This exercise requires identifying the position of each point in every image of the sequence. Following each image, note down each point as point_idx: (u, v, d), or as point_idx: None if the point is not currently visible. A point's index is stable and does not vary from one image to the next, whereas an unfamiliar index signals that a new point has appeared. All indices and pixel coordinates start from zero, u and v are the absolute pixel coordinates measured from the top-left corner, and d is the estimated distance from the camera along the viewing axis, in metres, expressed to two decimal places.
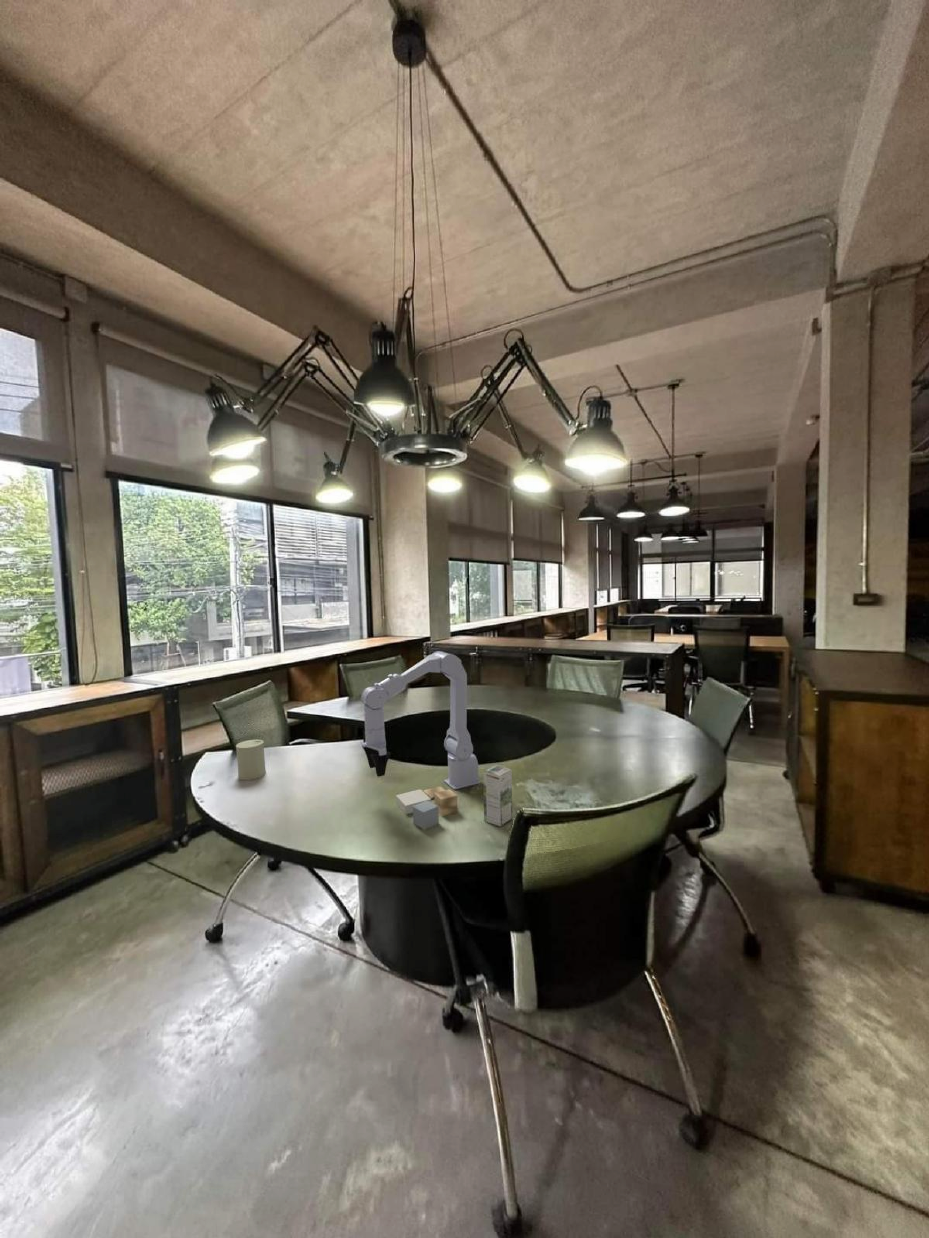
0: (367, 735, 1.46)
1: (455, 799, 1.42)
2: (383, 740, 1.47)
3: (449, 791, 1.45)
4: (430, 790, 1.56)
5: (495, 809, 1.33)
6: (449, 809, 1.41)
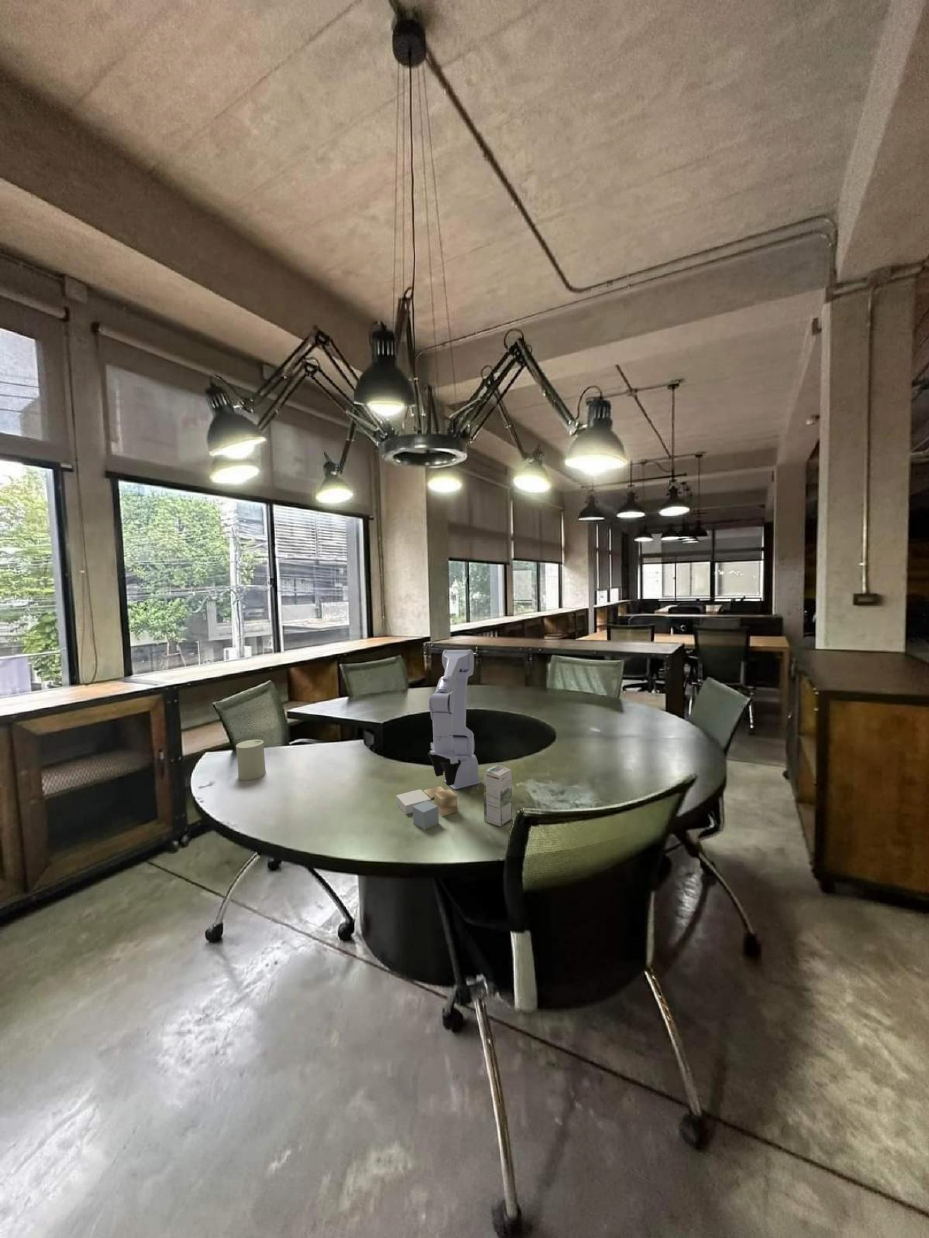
0: (436, 742, 1.40)
1: (455, 799, 1.42)
2: (452, 747, 1.41)
3: (449, 791, 1.45)
4: (430, 790, 1.56)
5: (495, 809, 1.33)
6: (449, 809, 1.41)
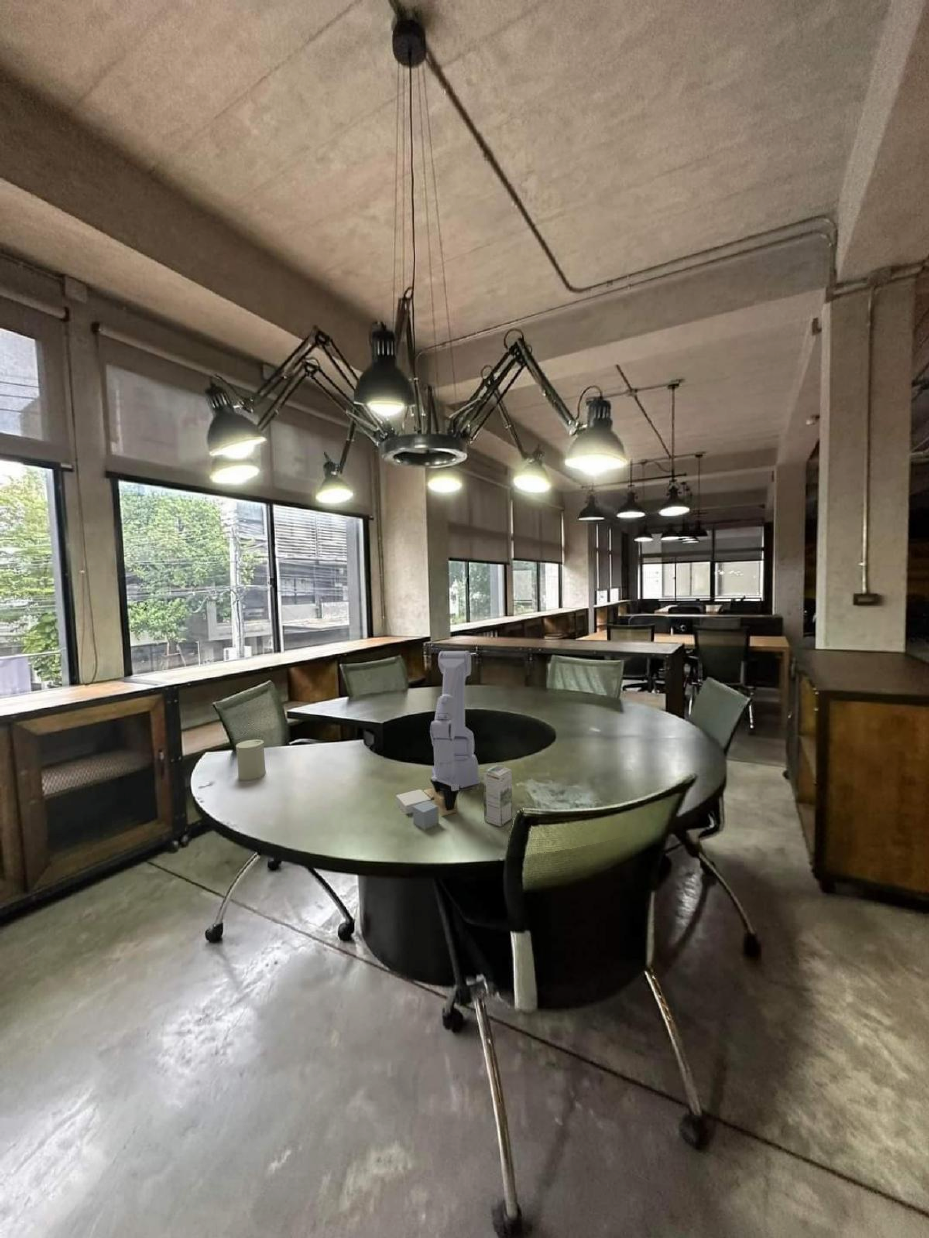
0: (437, 769, 1.40)
1: None
2: (453, 774, 1.42)
3: None
4: (430, 790, 1.56)
5: (495, 809, 1.33)
6: None
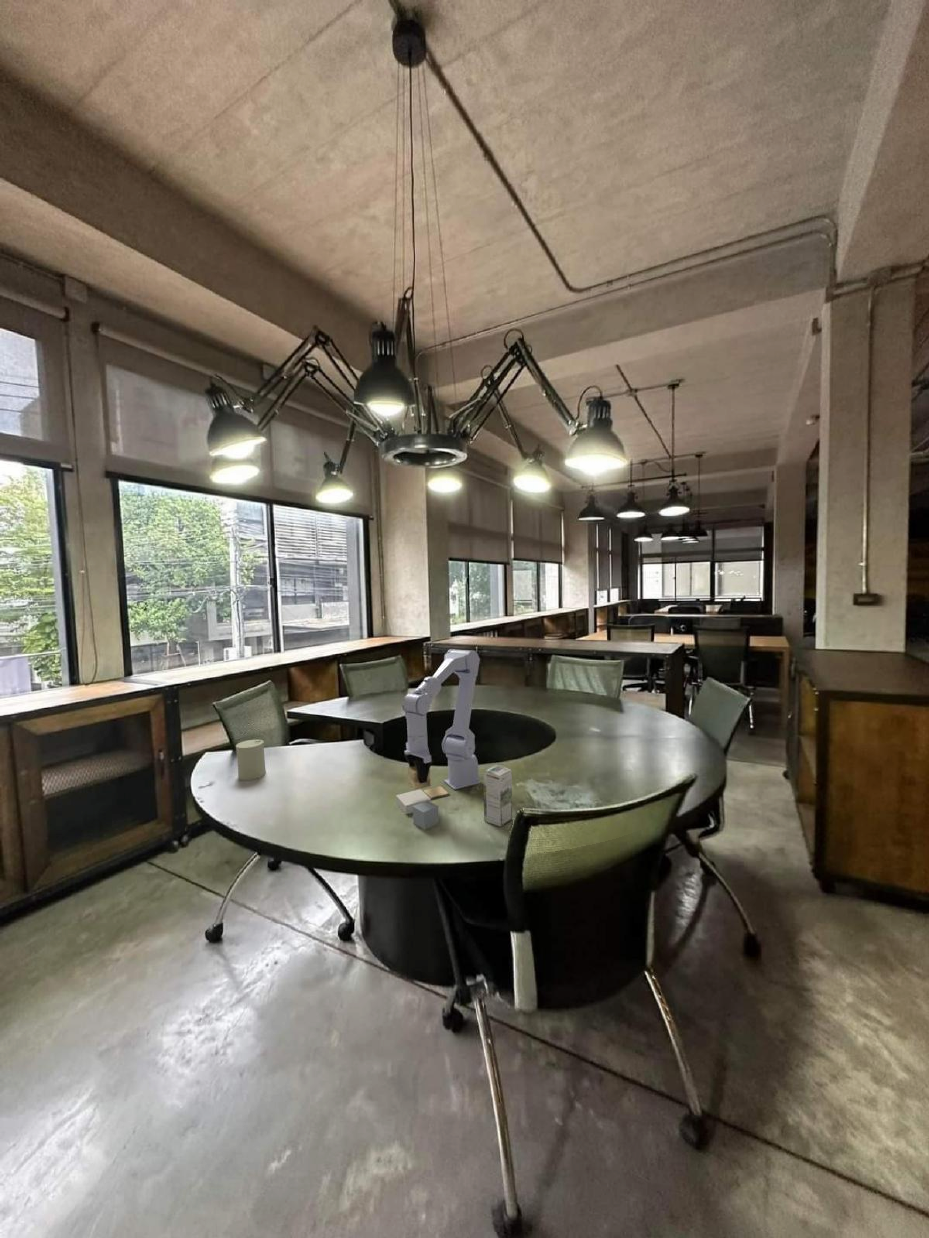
0: (410, 742, 1.43)
1: (428, 773, 1.44)
2: (426, 747, 1.44)
3: None
4: (430, 790, 1.56)
5: (495, 809, 1.33)
6: None
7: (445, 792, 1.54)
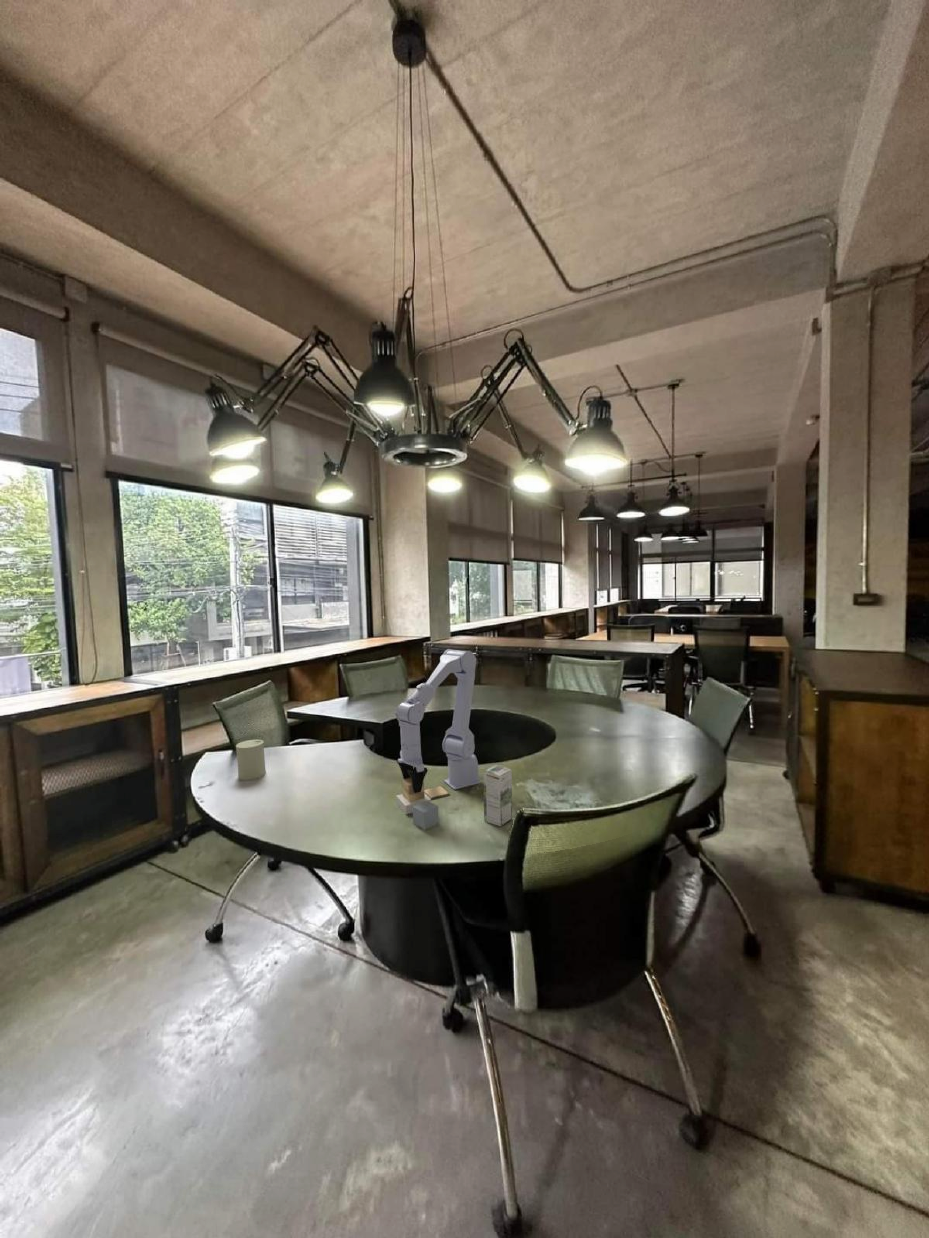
0: (403, 751, 1.44)
1: (422, 785, 1.46)
2: (419, 756, 1.45)
3: None
4: (430, 790, 1.56)
5: (495, 809, 1.33)
6: (416, 794, 1.45)
7: (445, 792, 1.54)
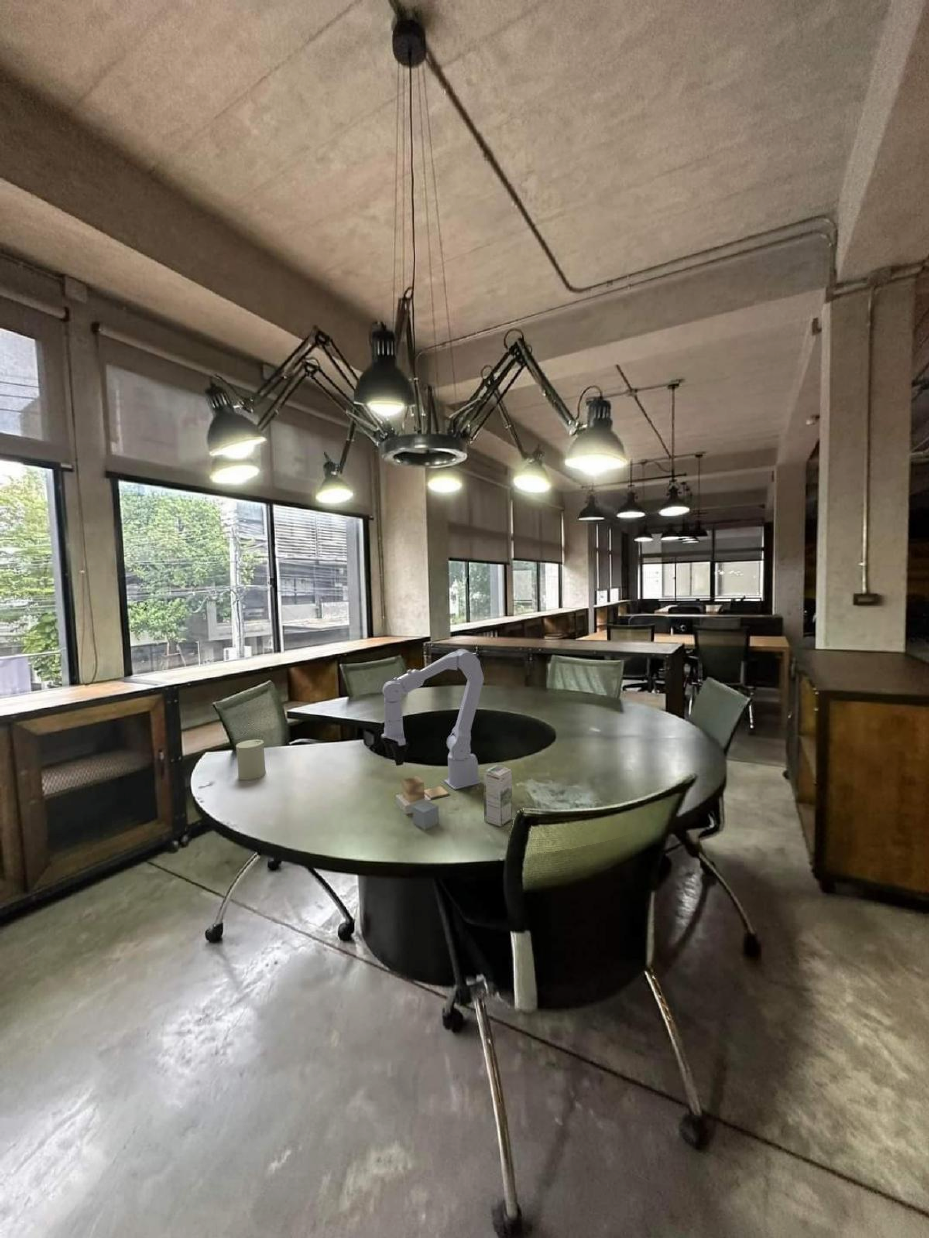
0: (386, 726, 1.54)
1: (422, 785, 1.46)
2: (401, 731, 1.55)
3: (416, 778, 1.49)
4: (430, 790, 1.56)
5: (495, 809, 1.33)
6: (416, 795, 1.45)
7: (445, 792, 1.54)
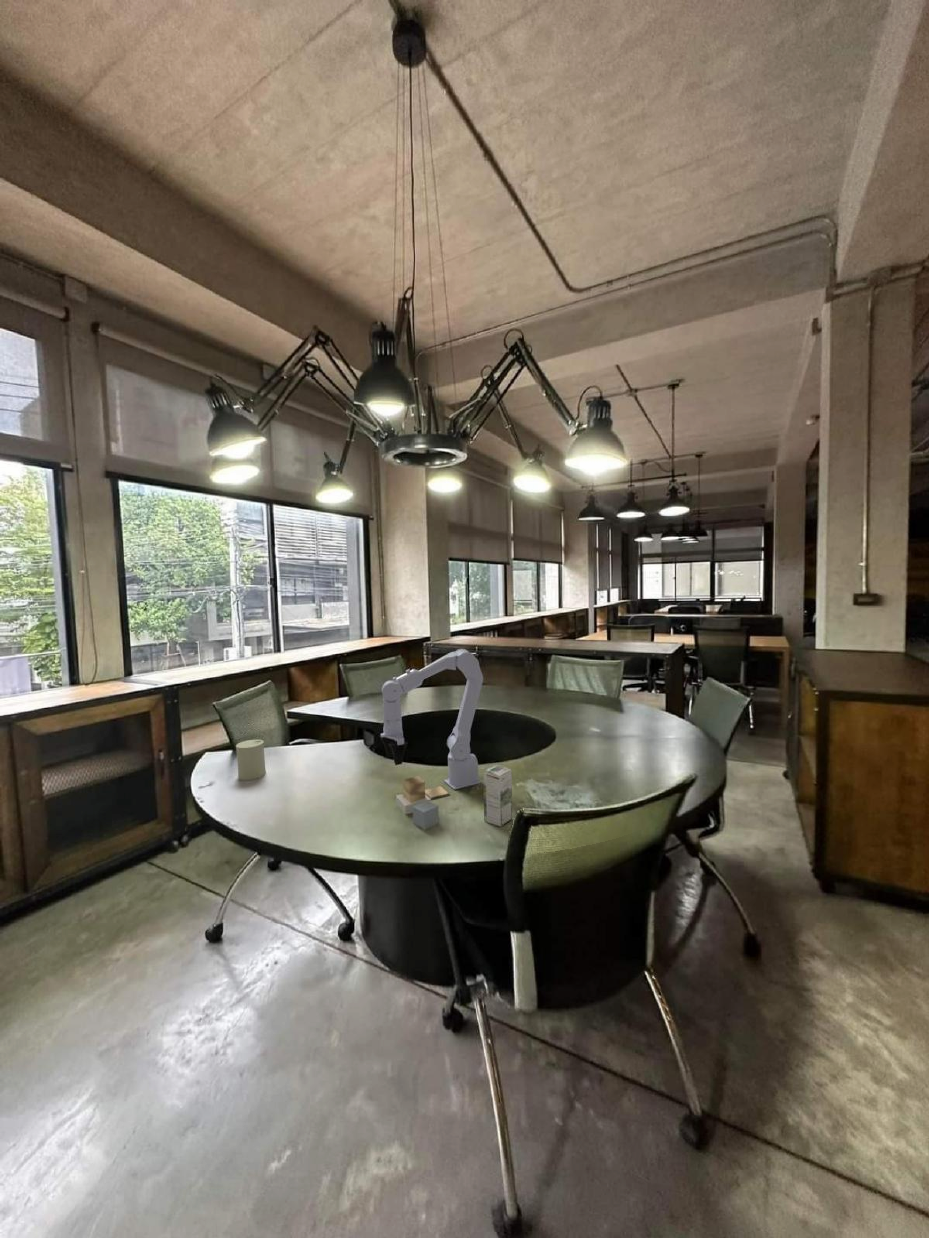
0: (385, 726, 1.55)
1: (423, 785, 1.46)
2: (400, 731, 1.56)
3: (417, 778, 1.49)
4: (430, 790, 1.56)
5: (495, 809, 1.33)
6: (417, 795, 1.45)
7: (445, 792, 1.54)
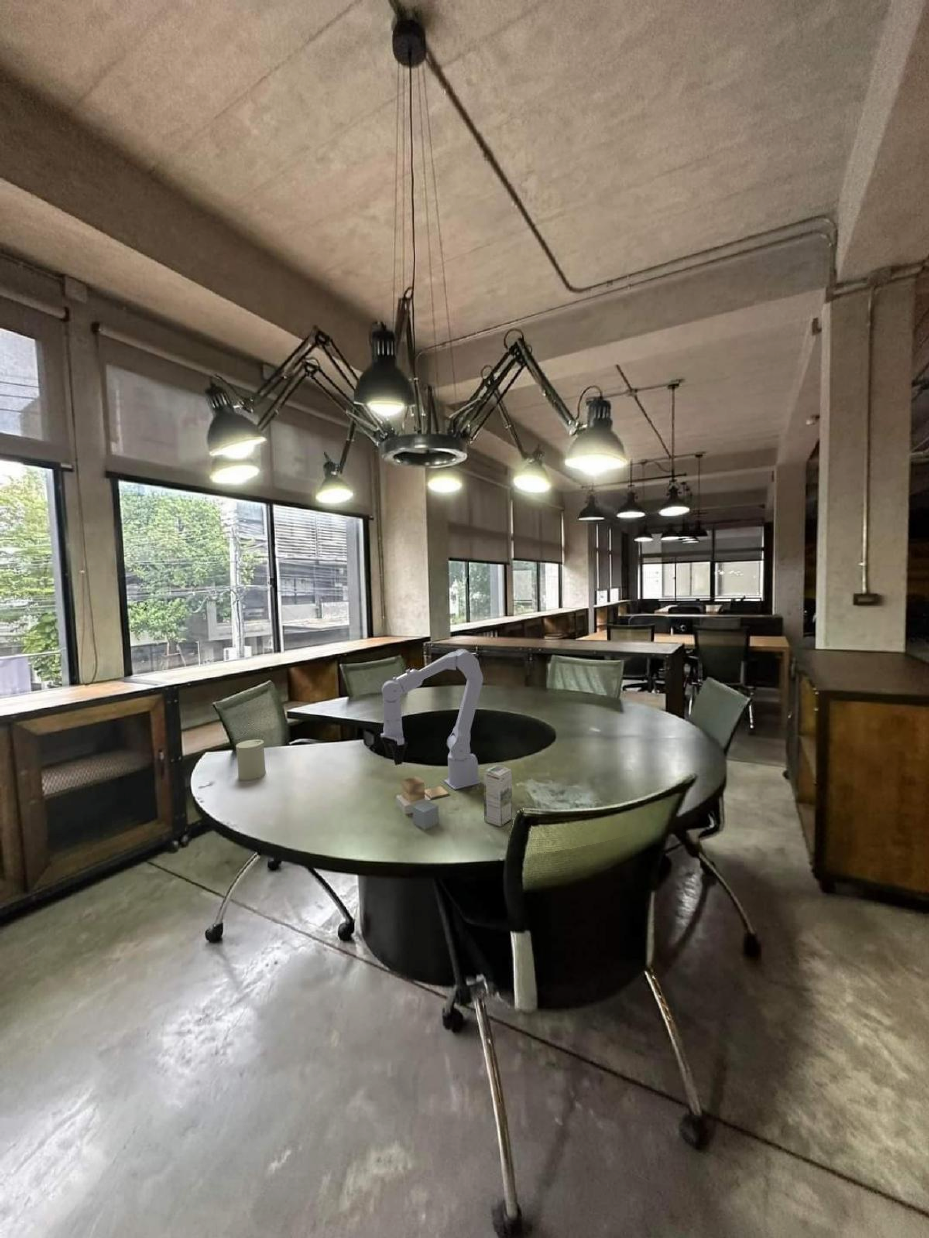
0: (385, 726, 1.55)
1: (422, 785, 1.46)
2: (400, 731, 1.56)
3: (416, 778, 1.49)
4: (430, 790, 1.56)
5: (495, 809, 1.33)
6: (416, 795, 1.45)
7: (445, 792, 1.54)
